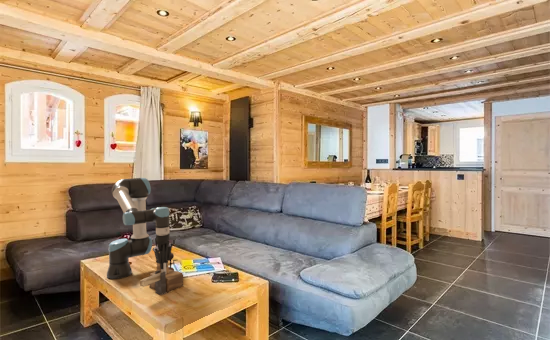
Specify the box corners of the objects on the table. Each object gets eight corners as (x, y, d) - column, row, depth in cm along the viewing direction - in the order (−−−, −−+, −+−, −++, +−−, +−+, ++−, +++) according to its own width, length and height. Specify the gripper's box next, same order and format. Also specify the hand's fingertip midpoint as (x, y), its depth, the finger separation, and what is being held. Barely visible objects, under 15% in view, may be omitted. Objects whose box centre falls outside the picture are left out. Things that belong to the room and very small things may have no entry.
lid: (149, 275, 189) (149, 260, 189) (164, 270, 199) (164, 255, 198) (168, 280, 181) (167, 265, 181) (182, 274, 191) (182, 259, 190)
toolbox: (144, 289, 186) (143, 269, 186) (165, 280, 199) (165, 261, 199) (162, 295, 178) (162, 273, 177) (183, 285, 191) (182, 265, 191)
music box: (157, 279, 201) (156, 248, 202) (153, 276, 210) (151, 246, 211) (181, 274, 210) (179, 244, 211) (176, 271, 219) (174, 242, 220)
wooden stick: (140, 285, 171) (140, 280, 171) (161, 277, 183) (161, 272, 183) (143, 286, 169) (143, 281, 169) (164, 278, 181) (164, 272, 181)
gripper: (157, 237, 174) (158, 278, 176) (176, 232, 186) (176, 271, 187) (149, 235, 178) (150, 276, 179) (167, 230, 189) (168, 269, 191)
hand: (163, 273), depth 183 cm, fingers closed
